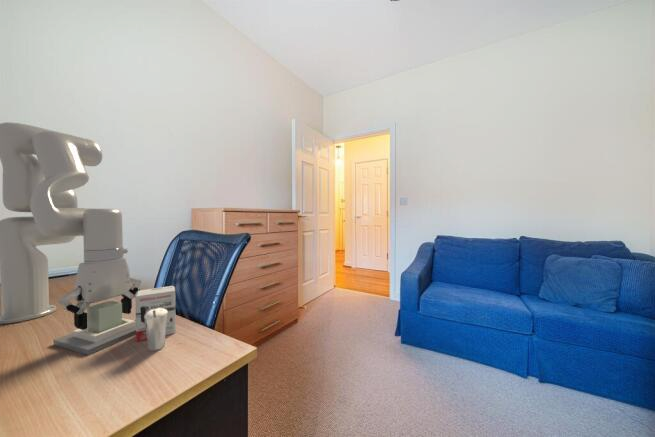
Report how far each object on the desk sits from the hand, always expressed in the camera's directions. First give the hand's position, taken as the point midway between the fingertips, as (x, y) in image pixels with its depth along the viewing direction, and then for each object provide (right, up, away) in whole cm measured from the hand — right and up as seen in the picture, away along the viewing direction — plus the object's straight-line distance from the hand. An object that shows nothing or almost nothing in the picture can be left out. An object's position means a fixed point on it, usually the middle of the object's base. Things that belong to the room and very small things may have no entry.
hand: (105, 320), depth 63 cm
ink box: (+13, -4, +1) cm, 14 cm away
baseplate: (0, -4, 0) cm, 4 cm away
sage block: (0, -3, 0) cm, 3 cm away
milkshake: (+18, -4, -6) cm, 19 cm away
